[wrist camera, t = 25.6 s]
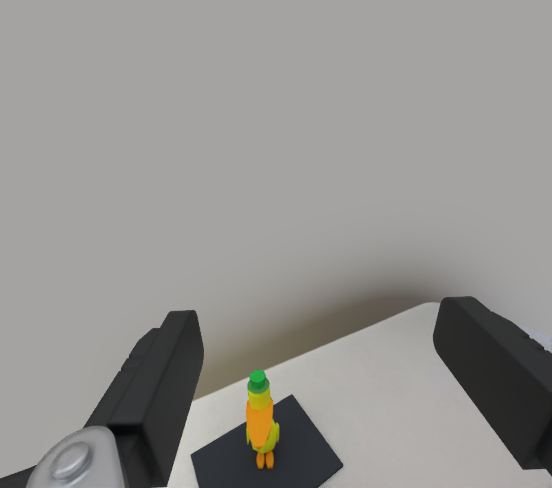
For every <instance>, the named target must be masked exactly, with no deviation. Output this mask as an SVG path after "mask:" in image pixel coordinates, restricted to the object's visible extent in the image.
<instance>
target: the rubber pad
mask: <svg viewBox="0 0 552 488" xmlns="http://www.w3.org/2000/svg"><path fill="white" fill-rule="evenodd" d="M272 418H273V420H274V422H275V425H276V423H278V424H279V440H278V442H277V441H276V444H275V447H274V449H272V453H273V457H274V464H273V468H272V469H268V467H267V465H266V453H264V456H265V463H264V466H263V469H258V466H257V460H256V459H257V454H258V451H255V450H253V447H252V444H251V441H250V440H249V443H247V433H246V428H247V421H246V422H245V423H243V424H241V425H239V426H238V427H236V428H234V429H233V430H231V431H229V432H228V433H226V434H224V435H223V436H221V437H219V438H218V439H216V440H214V441H213V442H211V443H209V444H208V445H206V446H204V447H203V448H201V449H199V450H198V451H196V452H194V453H192V454H191V458H192V462H193V465H194V469H195V473H196V477H197V480H198V484H199V488H318V487H319V486H320V485H321V484H322V483H324V482H325V481H326V480H327V479H328V478H330V477H331V476H332V475H333V474H334V473H336V472H337V471H338V470H339V469H340V468H342V467H343V464H342V462H341V461H340V459H339V458H338V457H337V455H336V454H335V453H334V451H333V450H332V448H331V447H330V446H329V444H328V443H327V442H326V440H325V439H324V437H323V436H322V435H321V433H320V432H319V431H318V429H317V428H316V427H315V425H314V424H313V422H312V421H311V420H310V418H309V417H308V416H307V414H306V413H305V411H304V410H303V409H302V407H301V406H300V405H299V403H298V402H297V400H296V399H295V398H294V396H293V395H292V394H291V395H290V396H288V397H286V398H285V399H283V400H281V401H280V402H278V403H276V404H275V405H273V415H272Z"/></svg>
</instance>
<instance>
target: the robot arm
mask: <svg viewBox="0 0 552 488" xmlns="http://www.w3.org/2000/svg"><path fill="white" fill-rule="evenodd" d="M433 342H434V346H435V349H436V352H437V353H438V355H439V356H440V358H441V359H442V361H443V362H444V363H445V365H446V366H447V367H448V369H449V370H450V371H451V373H452V374H453V375H454V377H455V378H456V379H457V381H458V382H459V384H460V385H461V386H462V388H463V389H464V390H465V392H466V393H467V394H468V396H469V397H470V398H471V400H472V401H473V403H474V404H475V405H476V407H477V408H478V409H479V411H480V412H481V413H482V415H483V416H484V417H485V419H486V420H487V422H488V423H489V424H490V426H491V427H492V428H493V430H494V431H495V432H496V434H497V435H498V436H499V438H500V439H501V441H502V442H503V443H504V445H505V446H506V447H507V449H508V450H509V451H510V453H511V454H512V455H513V457H514V458H515V459H516V461H517V462H518V464H519V465H520V466H521V468H522V469H523V470H528V469H546V470H547V471H548V472H549V473H550V475H551V476H552V353H550V352H549V351H548V350H546V351H545V350H544V347H543V346H542V345H540V344H539V343H538V342H537V341H535V340H534V339H530V337H529V335H528V334H527V333H525V332H524V331H523V330H522V329H520V328H519V327H518V326H517V325H515V324H514V323H513V322H511V321H509V320H507V319H505V318H503V317H501V316H500V315H498V314H496V313H494V312H491V311H490V310H489V309H487V308H486V307H485V306H484V305H483V304H482V303H480V302H479V301H478V300H477V299H475V298H474V297H471V296H466V297H446V298H444V299H443V300H442V301H441V304H440V308H439V312H438V317H437V321H436V325H435V329H434V333H433ZM203 358H204V348H203V342H202V337H201V332H200V327H199V322H198V317H197V314H196V311H194V310H186V311H171V312H169V313H168V315H167V317H166V318H165V320H164V322H163V324H162V325H161V327H160V328H153V329H151V330H150V331H149V332H148V333H147V334H146V335H144V336H143V337H142V338H141V339H140V340H139V341H138V342H137V344H136V345H135V347H134V348H133V350H132V351H131V353H130V355H129V358H127V360H126V361H125V363H124V364H123V366H122V367H121V371H119V372H118V374H117V375H116V377H115V378H114V380H113V382H112V383H111V385H110V386H109V388H108V389H107V391H106V393H105V394H104V396H103V397H102V399H101V400H100V402H99V404H98V405H97V407H96V408H95V410H94V411H93V413H92V415H91V416H90V418H89V419H88V421H87V422H86V424H85V426H84V427H83V428H82V429H81V430H78V431H76V432H74V433H72V434H70V435H69V436H67V437H65V438H64V439H63V440H61V441H60V442H58V443H57V444H56V445H55V446H54V447H52V448H51V449H50V450H49V451H48V452H47V453H46V455H44V457H43V458H42V459H41V460H40V461H39V463H38V464H37V465H35V466H33V467H31V468H28V469H25V470H23V471H20V472H17V473H14V474H11V475H9V476H6V477H3V478H0V488H157V487H167V484H168V481H169V477H170V474H171V471H172V467H173V464H174V460H175V457H176V454H177V450H178V447H179V444H180V440H181V437H182V433H183V430H184V427H185V423H186V420H187V416H188V413H189V410H190V406H191V403H192V399H193V396H194V393H195V389H196V386H197V383H198V379H199V376H200V372H201V369H202V365H203Z"/></svg>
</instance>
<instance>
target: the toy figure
mask: <svg viewBox="0 0 552 488" xmlns="http://www.w3.org/2000/svg"><path fill="white" fill-rule="evenodd" d="M249 377H250V381H249V382H248V388H247V389H248V396H249V400H248V401H247V408H246V419H247V428H246V433H247V443H249V440H250V441H251V444H252V447H253V450H255V451H258V454H257V459H256V460H257V466H258V469H263V466H264V463H265V456H264V453H266V465H267V467H268V469H272V468H273V464H274V457H273V453H272V449H274V447H275V444H276V441H277V442H278V440H279V424H278V423H276V425H275V422H274V420H273V418H272V415H273V400H272V398H271V397H270V387H269V381H268V379H267V378H266V375H265V373H264V371H260V370H256V371H253V372H252V373H251V375H250V376H249Z"/></svg>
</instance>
